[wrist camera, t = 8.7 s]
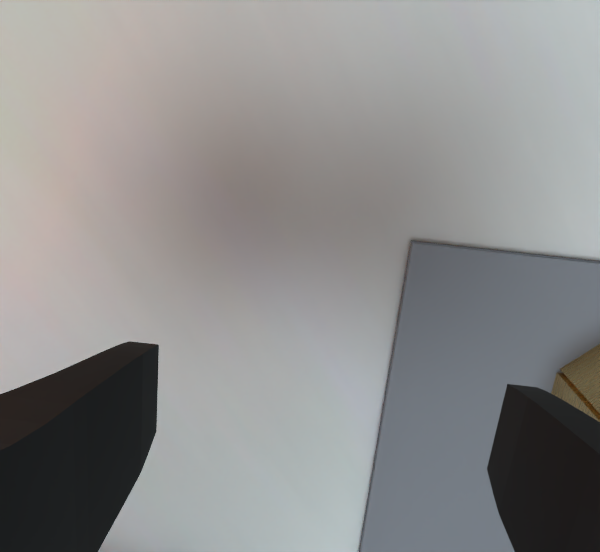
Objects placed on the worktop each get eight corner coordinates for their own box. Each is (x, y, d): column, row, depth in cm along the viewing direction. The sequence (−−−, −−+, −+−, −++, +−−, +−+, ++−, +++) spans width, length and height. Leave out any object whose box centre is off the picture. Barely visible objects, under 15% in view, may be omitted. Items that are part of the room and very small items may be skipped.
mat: (645, 596, 25) (650, 604, 24) (357, 563, 25) (357, 570, 24) (764, 279, 20) (772, 282, 20) (410, 240, 20) (412, 243, 20)
